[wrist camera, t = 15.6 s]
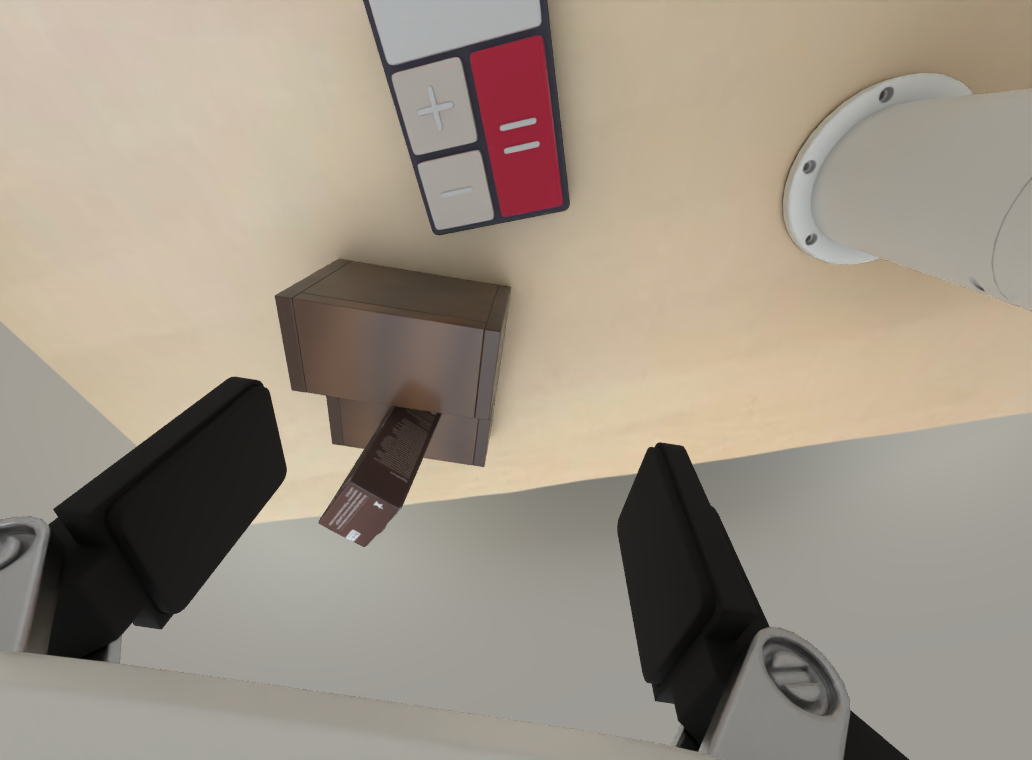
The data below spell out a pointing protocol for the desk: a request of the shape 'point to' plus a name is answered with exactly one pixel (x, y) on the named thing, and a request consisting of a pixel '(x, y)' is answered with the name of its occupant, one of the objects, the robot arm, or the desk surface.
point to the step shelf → (397, 351)
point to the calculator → (475, 106)
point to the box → (381, 475)
